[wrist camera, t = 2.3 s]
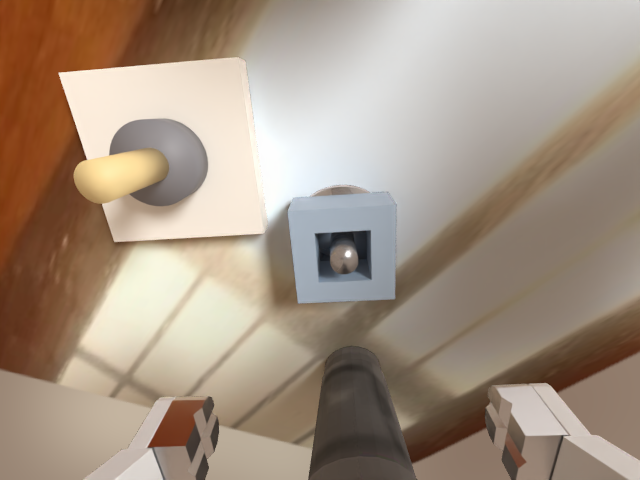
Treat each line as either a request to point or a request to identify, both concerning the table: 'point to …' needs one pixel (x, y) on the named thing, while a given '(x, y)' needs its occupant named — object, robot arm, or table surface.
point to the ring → (342, 216)
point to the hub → (169, 149)
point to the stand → (342, 238)
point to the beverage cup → (357, 423)
